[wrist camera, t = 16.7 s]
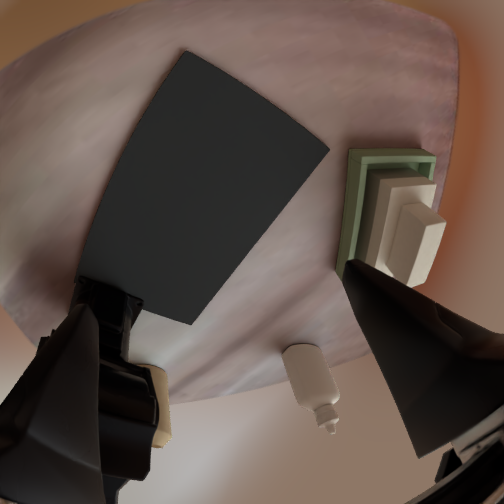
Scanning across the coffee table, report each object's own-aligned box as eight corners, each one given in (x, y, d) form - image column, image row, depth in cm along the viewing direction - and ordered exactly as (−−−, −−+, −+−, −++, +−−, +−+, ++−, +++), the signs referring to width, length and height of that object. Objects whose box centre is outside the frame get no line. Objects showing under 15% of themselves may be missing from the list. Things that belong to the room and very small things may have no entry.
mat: (191, 322, 26) (191, 325, 26) (74, 279, 21) (73, 282, 20) (328, 148, 19) (330, 149, 19) (186, 50, 13) (186, 49, 13)
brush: (392, 249, 26) (429, 291, 21) (352, 258, 25) (387, 306, 20) (410, 167, 21) (462, 201, 16) (365, 169, 20) (418, 207, 15)
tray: (399, 256, 28) (408, 266, 26) (335, 271, 27) (343, 284, 25) (422, 148, 20) (436, 156, 19) (348, 148, 19) (361, 156, 18)
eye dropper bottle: (295, 365, 36) (323, 442, 27) (276, 351, 33) (306, 439, 23) (323, 350, 35) (356, 427, 26) (307, 334, 32) (344, 422, 22)
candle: (136, 386, 32) (137, 453, 24) (117, 366, 29) (114, 441, 21) (173, 381, 33) (179, 451, 25) (157, 361, 29) (161, 440, 22)
